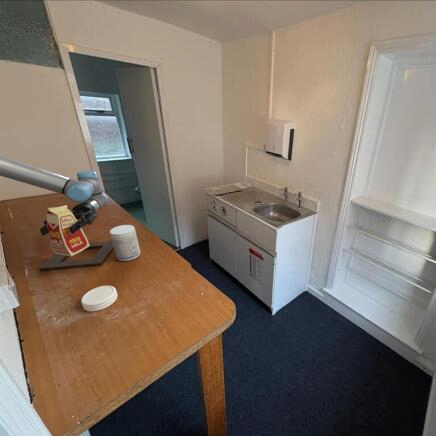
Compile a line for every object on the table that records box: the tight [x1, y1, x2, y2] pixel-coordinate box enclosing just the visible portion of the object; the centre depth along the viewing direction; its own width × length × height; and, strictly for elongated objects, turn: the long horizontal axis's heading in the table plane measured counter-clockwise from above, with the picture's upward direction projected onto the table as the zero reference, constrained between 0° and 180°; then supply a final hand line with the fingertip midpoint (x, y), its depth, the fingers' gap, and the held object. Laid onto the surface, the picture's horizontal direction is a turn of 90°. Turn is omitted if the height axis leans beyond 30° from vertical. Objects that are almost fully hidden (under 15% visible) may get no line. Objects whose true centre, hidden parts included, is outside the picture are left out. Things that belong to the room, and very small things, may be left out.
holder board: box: [38, 240, 115, 272], centre depth 109 cm, size 22×20×2 cm
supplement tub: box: [109, 224, 141, 262], centre depth 108 cm, size 10×10×15 cm
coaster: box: [80, 285, 118, 312], centre depth 84 cm, size 10×10×4 cm
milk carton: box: [46, 204, 90, 257], centre depth 94 cm, size 9×9×20 cm
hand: (57, 231), depth 90 cm, fingers closed on milk carton, 8 cm apart
